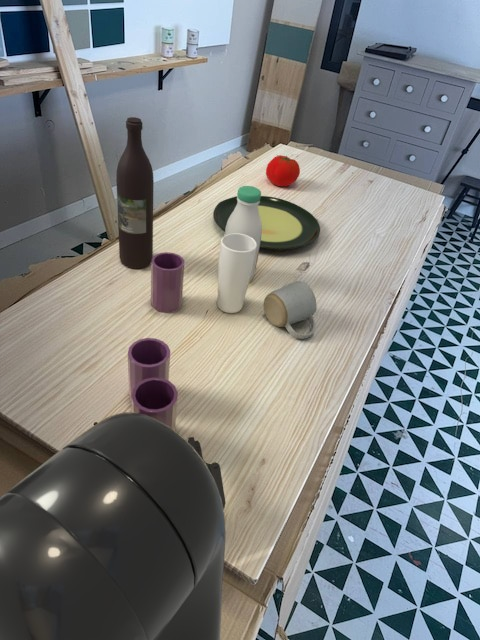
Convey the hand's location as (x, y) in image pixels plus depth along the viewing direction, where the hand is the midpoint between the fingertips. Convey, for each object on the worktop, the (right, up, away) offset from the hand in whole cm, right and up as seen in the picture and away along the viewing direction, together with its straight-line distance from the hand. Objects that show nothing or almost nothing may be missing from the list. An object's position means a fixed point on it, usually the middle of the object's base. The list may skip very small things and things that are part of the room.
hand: (157, 444), depth 61 cm
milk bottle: (+10, +26, +43) cm, 51 cm away
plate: (+17, +40, +61) cm, 75 cm away
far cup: (-4, +20, +32) cm, 37 cm away
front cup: (-2, -1, +8) cm, 8 cm away
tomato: (+23, +58, +83) cm, 104 cm away
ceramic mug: (+21, +16, +32) cm, 41 cm away
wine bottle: (-12, +29, +42) cm, 52 cm away
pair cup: (-4, +4, +13) cm, 14 cm away
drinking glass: (+9, +19, +34) cm, 40 cm away
